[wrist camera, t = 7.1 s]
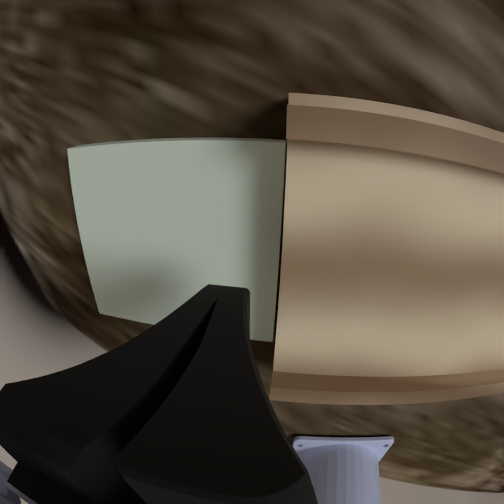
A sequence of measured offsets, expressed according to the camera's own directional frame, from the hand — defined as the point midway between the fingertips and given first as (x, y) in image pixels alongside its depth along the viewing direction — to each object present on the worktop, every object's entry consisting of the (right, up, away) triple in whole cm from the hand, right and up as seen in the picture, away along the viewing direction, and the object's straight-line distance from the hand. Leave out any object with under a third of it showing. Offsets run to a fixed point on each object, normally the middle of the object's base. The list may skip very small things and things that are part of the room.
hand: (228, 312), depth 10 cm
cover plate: (-3, +3, +5) cm, 6 cm away
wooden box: (+9, +2, +3) cm, 10 cm away
